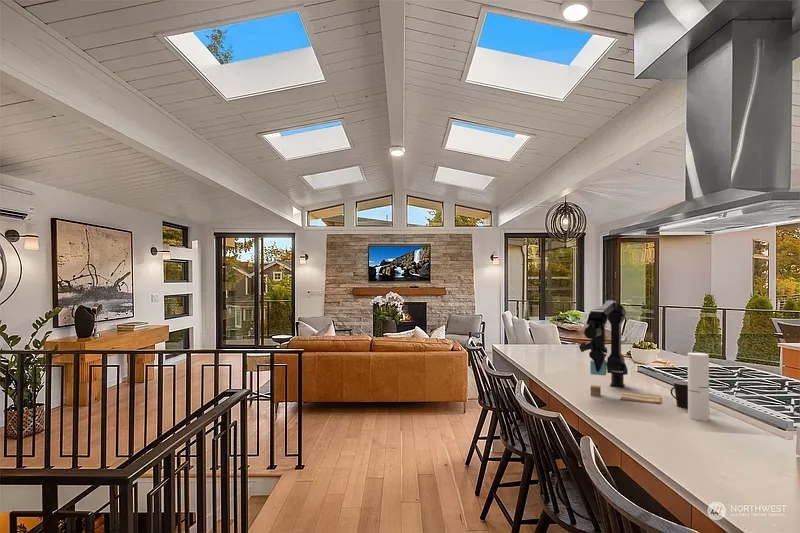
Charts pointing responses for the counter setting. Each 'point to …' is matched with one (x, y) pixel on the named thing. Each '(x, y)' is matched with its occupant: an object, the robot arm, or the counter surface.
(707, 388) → the cylindrical container
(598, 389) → the walnut block
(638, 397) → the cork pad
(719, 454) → the counter surface
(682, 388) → the coffee mug
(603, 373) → the tilted teal cube
